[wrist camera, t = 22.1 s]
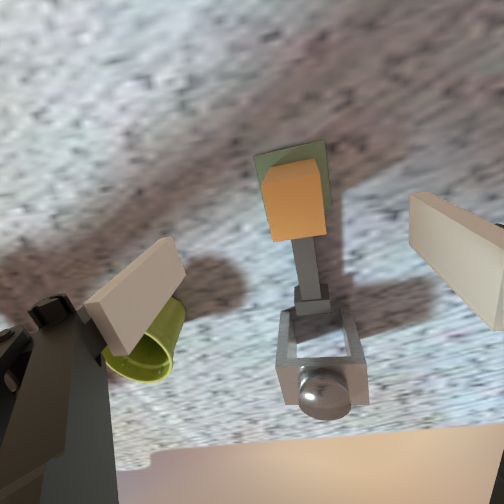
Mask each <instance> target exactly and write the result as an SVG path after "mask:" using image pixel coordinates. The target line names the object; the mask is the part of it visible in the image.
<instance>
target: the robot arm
mask: <svg viewBox="0 0 504 504" xmlns="http://www.w3.org/2000/svg"><path fill="white" fill-rule="evenodd" d="M409 245H410V246H411V247H412V248H413V249H414V250H415V251H416V252H417V253H418V254H419V255H420V256H421V257H422V258H423V259H424V261H425V262H426V263H427V264H428V265H429V266H430V267H431V268H432V269H433V270H434V271H435V272H436V273H437V274H438V275H439V276H440V277H441V278H442V279H443V280H444V281H445V282H446V283H447V284H448V285H449V286H450V288H451V289H452V290H453V291H454V292H455V293H456V294H457V295H458V296H459V297H460V298H461V299H462V300H463V301H464V302H465V303H466V304H467V305H468V306H469V307H470V308H471V309H472V310H473V311H474V312H475V313H476V314H477V316H478V317H479V318H480V319H481V320H482V321H483V322H484V323H485V324H486V325H487V326H488V327H489V328H490V329H491V330H492V331H504V225H502V224H493V223H491V222H489V221H487V220H485V219H482V218H480V217H478V216H476V215H474V214H472V213H470V212H468V211H466V210H464V209H462V208H460V207H458V206H456V205H454V204H452V203H450V202H448V201H446V200H444V199H442V198H440V197H438V196H436V195H434V194H432V193H430V192H428V191H424V192H418V193H412V194H410V195H409ZM185 276H186V273H185V270H184V268H183V265H182V262H181V260H180V257H179V254H178V252H177V249H176V247H175V244H174V241H173V239H172V236H169V237H164V238H160V239H159V240H157V241H156V242H155V243H154V244H153V245H152V246H150V247H149V248H148V249H147V250H146V251H144V252H143V253H142V254H141V255H140V256H139V257H137V258H136V259H135V260H134V261H133V262H131V263H130V264H129V265H128V266H127V267H126V268H124V269H123V270H122V271H121V272H120V273H118V274H117V275H116V276H115V277H114V278H112V279H111V280H110V281H109V282H108V283H107V284H105V285H104V286H103V287H102V288H101V289H99V290H98V291H97V292H96V293H95V294H94V295H92V296H91V297H90V298H89V299H88V300H86V301H85V302H84V303H83V307H82V308H81V309H80V310H78V311H77V312H76V310H75V308H74V307H73V305H72V303H71V302H70V300H69V299H68V297H67V295H66V294H57V295H54V296H51V297H48V298H46V299H44V300H42V301H40V302H39V303H37V304H35V305H34V306H33V307H31V308H30V309H29V310H28V313H29V314H30V316H31V317H32V319H33V320H34V321H35V323H36V324H37V326H38V327H39V332H36V333H33V334H30V335H29V333H28V332H27V330H26V329H25V328H24V326H15V327H12V328H10V329H5V330H3V331H1V332H0V504H119V501H118V490H117V480H116V468H115V457H114V446H113V435H112V425H111V414H110V403H109V392H108V381H107V370H106V360H105V358H104V356H103V354H102V353H101V352H102V351H103V350H104V348H105V347H106V346H108V348H109V350H110V351H111V353H112V355H113V356H124V355H129V354H130V353H131V351H132V350H133V349H134V347H135V346H136V344H137V343H138V342H139V340H140V339H141V337H142V336H143V335H144V333H145V332H146V330H147V329H148V328H149V326H150V325H151V323H152V322H153V321H154V319H155V318H156V317H157V315H158V314H159V312H160V311H161V310H162V308H163V307H164V305H165V304H166V303H167V301H168V300H169V298H170V297H171V296H172V294H173V293H174V291H175V290H176V289H177V287H178V286H179V285H180V283H181V282H182V280H183V279H184V278H185ZM489 504H504V451H503V454H502V458H501V462H500V466H499V469H498V473H497V477H496V480H495V484H494V488H493V492H492V495H491V499H490V503H489Z"/></svg>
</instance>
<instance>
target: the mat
mask: <svg viewBox="0 0 504 504" xmlns="http://www.w3.org/2000/svg"><path fill="white" fill-rule="evenodd" d="M312 158H315V161H316V164H317V167H318V170H319V173H320V180H321V189H322V198H323V206H324V211H330V210H332V203H331V194H330V185H329V176H328V167H327V158H326V148H325V140H320V141H316V142H312V143H307V144H303V145H299V146H295V147H290V148H286V149H282V150H277V151H273V152H269V153H265V154H260V155H256V156H254V161H255V165H256V170H257V175H258V179H259V184H260V188H261V184H262V182H263V180H264V178H265V175H266V173H267V171H268V169H269V168H270V167H274V166H279V165H284V164H289V163H293V162H298V161H303V160H308V159H312ZM261 193H262V188H261ZM262 198H263V202H264V197H263V193H262ZM264 207H265V202H264ZM265 211H266V207H265ZM266 216H267V211H266ZM267 221H268V216H267Z"/></svg>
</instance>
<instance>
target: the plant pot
mask: <svg viewBox="0 0 504 504" xmlns="http://www.w3.org/2000/svg"><path fill="white" fill-rule="evenodd" d="M185 317H186V312H185V308H184V306H183V305H182V303H181V302H180V301H179V300H176V299H174V298H173V297H170V298H169V300H168V301H167V303H166V304H165V305H164V307H163V308H162V310H161V311H160V312H159V314H158V315H157V317H156V318H155V319H154V321H153V322H152V323H151V325H150V326H149V328H148V329H147V330H146V332H145V333H144V335H143V336H142V337H141V339H140V340H139V342H138V343H137V344H136V346H135V347H134V349H133V350H132V351H131V353H130V354H129V355H124V356H113V355H112V353H111V351H110V350H109V348H108V346H106V347H105V348H104V350H103V351H102V352H101V353H102V354H103V356H104V358H105V360H106V364H107V365H108V366H109V367H110V368H111V369H112V370H113V371H115V372H116V373H118V374H119V375H121V376H123V377H125V378H127V379H130V380H133V381H137V382H141V383H156V382H160V381H162V380H164V379H165V378H167V377H168V376H169V374H170V373H171V371H172V368H173V355H174V348H175V345H176V343H177V340H178V337H179V334H180V331H181V329H182V326H183V323H184V320H185Z"/></svg>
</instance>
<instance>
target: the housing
mask: <svg viewBox="0 0 504 504" xmlns="http://www.w3.org/2000/svg"><path fill="white" fill-rule="evenodd" d="M341 316H342V325H343V333H344V342H345V347H346V352H347V356H344V357H319V358H297V343H296V339H295V334H294V329H293V324H292V320H291V315H290V311H281V314H280V324H279V334H278V344H277V355H276V365H275V368H276V371H277V375H278V379H279V382H280V386H281V390H282V394H283V397H284V401H285V405H299V407H300V408H301V410H302V411H303V412H304V413H305V414H307V415H308V416H310V417H313V418H315V419H319V420H336V419H340V418H342V417H344V416H345V415H347V414H348V413H349V411H350V409H351V405H370V404H369V390H368V377H367V364H366V360H365V356H364V353H363V349H362V346H361V342H360V339H359V335H358V331H357V328H356V324H355V321H354V317H353V313H352V310H351V306H341Z"/></svg>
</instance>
